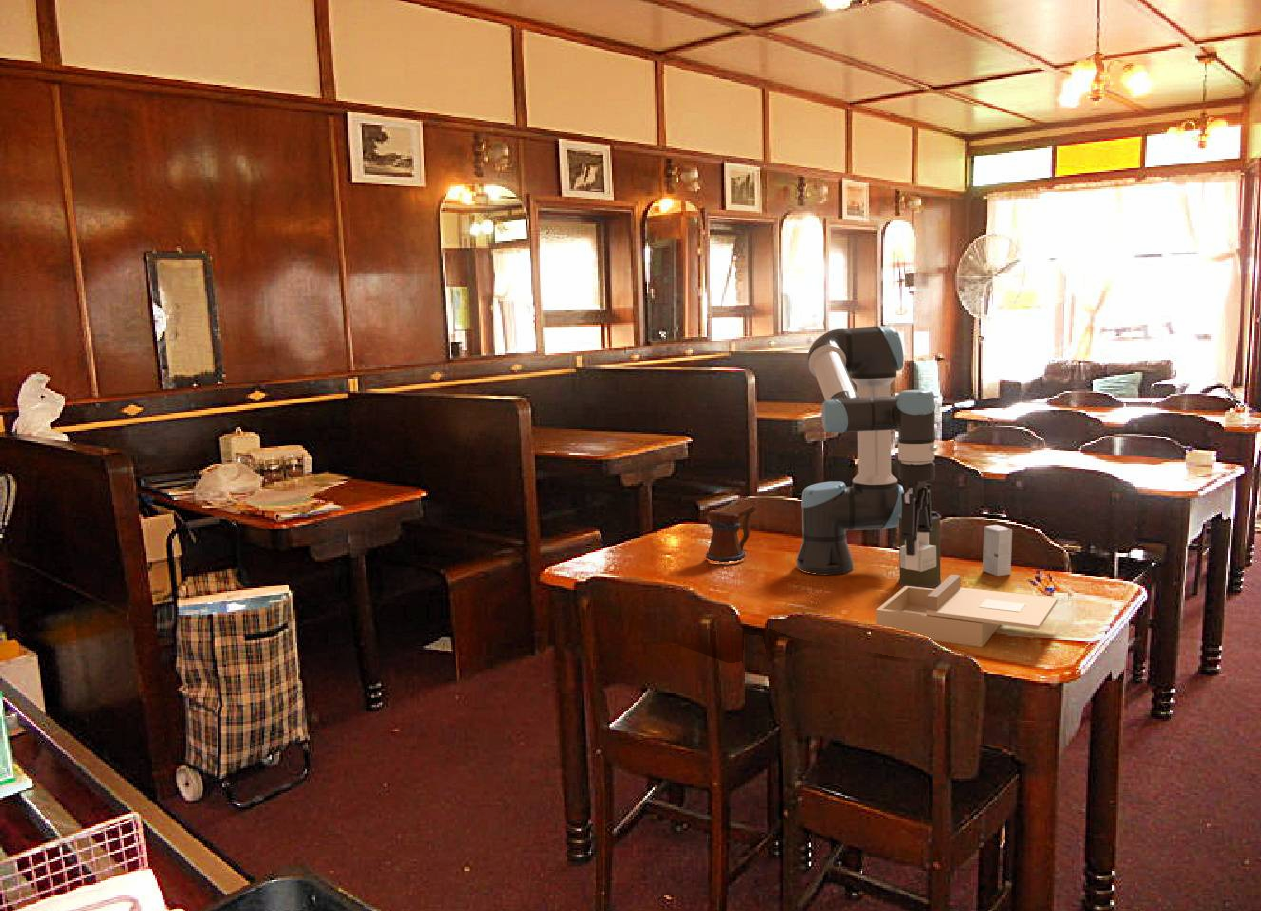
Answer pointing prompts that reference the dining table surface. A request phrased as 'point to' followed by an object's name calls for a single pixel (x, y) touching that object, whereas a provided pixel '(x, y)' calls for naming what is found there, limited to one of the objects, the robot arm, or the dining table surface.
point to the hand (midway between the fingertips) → (917, 564)
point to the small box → (922, 557)
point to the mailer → (930, 619)
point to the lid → (988, 605)
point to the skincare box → (997, 550)
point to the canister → (931, 575)
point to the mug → (728, 535)
